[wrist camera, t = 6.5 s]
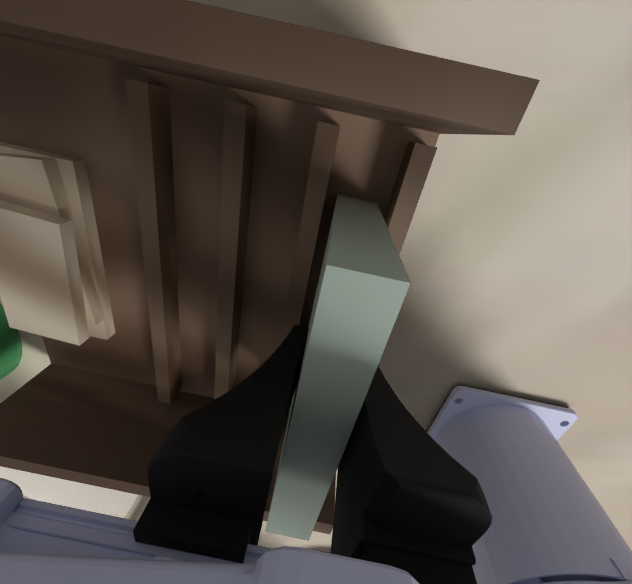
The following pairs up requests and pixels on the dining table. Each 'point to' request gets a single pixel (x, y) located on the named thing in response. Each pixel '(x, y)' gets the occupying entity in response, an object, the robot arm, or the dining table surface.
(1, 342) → the tape roll
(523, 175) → the dining table surface
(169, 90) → the rack
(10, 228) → the offcut stack
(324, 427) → the sheet
